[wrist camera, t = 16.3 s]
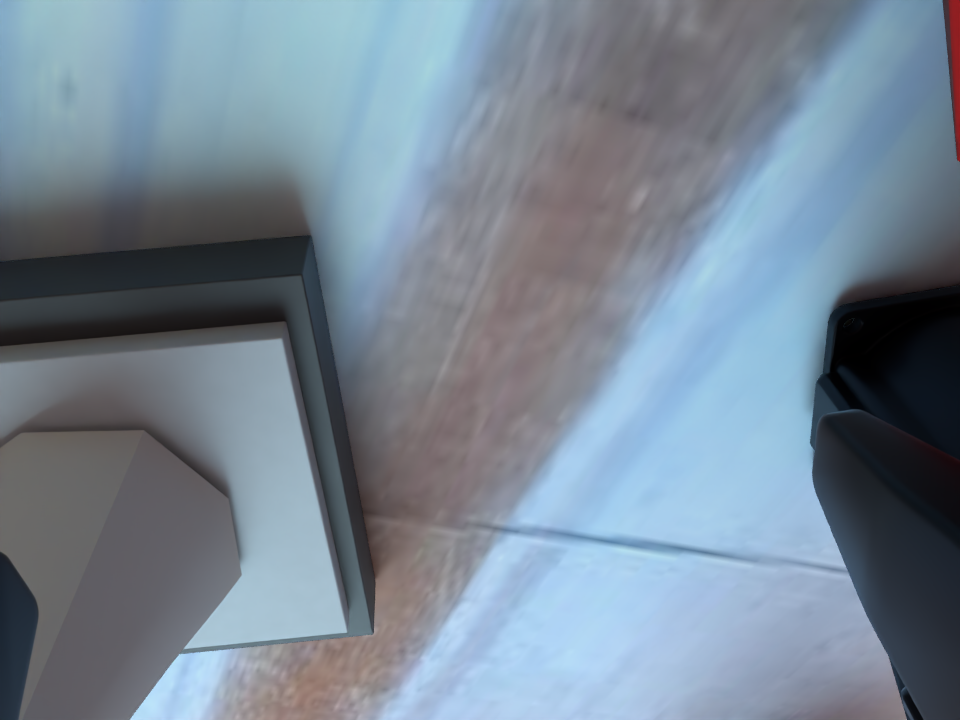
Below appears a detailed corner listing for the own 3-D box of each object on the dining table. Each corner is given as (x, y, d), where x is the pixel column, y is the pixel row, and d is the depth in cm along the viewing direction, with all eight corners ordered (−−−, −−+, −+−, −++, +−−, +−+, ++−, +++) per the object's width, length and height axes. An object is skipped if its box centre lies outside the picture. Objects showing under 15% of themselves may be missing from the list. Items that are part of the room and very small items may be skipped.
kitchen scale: (311, 234, 21) (298, 290, 19) (375, 582, 28) (373, 656, 26) (-208, 278, 21) (-293, 341, 18) (-9, 620, 28) (-50, 699, 25)
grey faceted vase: (56, 642, 24) (-125, 1071, 16) (-108, 464, 20) (-462, 912, 12) (286, 580, 24) (223, 994, 15) (162, 384, 20) (-14, 798, 11)
